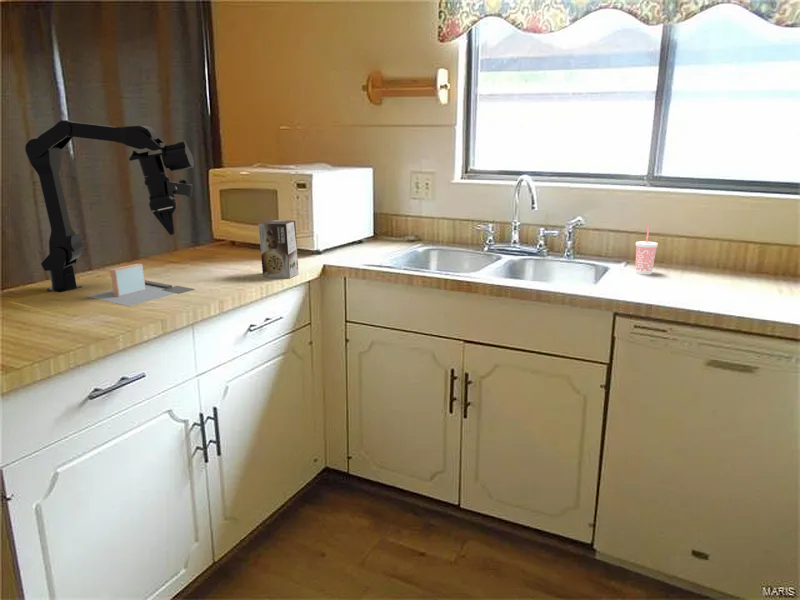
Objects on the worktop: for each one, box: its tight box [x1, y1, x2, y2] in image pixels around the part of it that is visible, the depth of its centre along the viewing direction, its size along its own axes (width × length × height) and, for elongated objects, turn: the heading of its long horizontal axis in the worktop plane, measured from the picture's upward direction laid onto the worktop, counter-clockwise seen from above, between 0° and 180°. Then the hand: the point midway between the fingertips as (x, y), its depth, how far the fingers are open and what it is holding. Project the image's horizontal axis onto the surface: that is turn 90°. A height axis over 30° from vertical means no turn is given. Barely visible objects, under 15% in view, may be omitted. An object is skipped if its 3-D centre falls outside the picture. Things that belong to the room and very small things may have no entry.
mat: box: [85, 284, 177, 307], centre depth 155 cm, size 18×16×1 cm
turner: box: [144, 279, 195, 295], centre depth 161 cm, size 19×5×1 cm, turn 59°
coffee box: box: [257, 219, 299, 279], centre depth 173 cm, size 9×6×16 cm
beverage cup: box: [634, 225, 659, 275], centre depth 174 cm, size 6×6×14 cm
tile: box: [109, 263, 146, 297], centre depth 155 cm, size 2×8×7 cm, turn 149°
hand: (172, 232), depth 159 cm, fingers open, 9 cm apart
